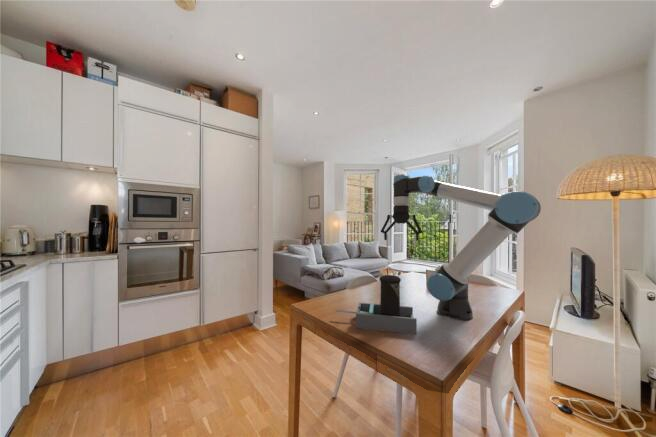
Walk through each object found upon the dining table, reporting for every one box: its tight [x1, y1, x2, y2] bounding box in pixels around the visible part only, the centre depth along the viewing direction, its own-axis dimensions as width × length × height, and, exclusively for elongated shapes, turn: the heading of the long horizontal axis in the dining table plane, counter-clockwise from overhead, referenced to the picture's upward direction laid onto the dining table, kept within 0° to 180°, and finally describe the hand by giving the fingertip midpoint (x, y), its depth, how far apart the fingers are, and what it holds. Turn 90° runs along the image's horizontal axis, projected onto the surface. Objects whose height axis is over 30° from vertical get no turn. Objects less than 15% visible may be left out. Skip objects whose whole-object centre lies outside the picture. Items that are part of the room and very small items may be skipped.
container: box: [379, 274, 402, 317], centre depth 103 cm, size 9×9×20 cm
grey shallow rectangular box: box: [355, 302, 418, 335], centre depth 103 cm, size 24×14×6 cm, turn 77°
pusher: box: [335, 303, 375, 314], centre depth 106 cm, size 16×11×5 cm
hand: (401, 246), depth 121 cm, fingers open, 13 cm apart
